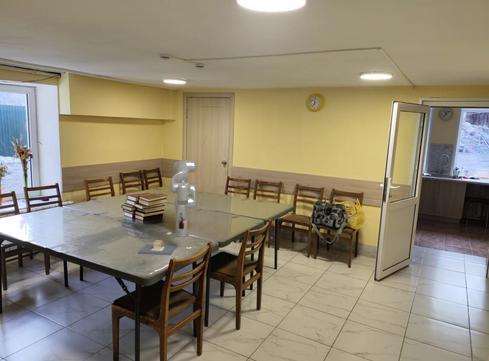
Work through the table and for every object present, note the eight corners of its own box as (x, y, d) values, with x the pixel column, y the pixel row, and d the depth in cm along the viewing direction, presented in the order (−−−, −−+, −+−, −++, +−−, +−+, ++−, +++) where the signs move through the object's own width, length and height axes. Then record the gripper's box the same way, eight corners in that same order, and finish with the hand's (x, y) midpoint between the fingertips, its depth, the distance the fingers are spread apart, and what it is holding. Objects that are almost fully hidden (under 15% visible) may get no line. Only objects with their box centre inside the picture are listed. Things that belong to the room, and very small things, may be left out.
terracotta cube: (179, 226, 238) (179, 220, 237) (186, 227, 238) (186, 220, 237) (178, 228, 233) (178, 221, 232) (185, 229, 233) (185, 222, 232)
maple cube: (155, 247, 239) (155, 240, 238) (162, 247, 239) (162, 240, 238) (153, 249, 234) (153, 242, 233) (160, 249, 234) (160, 242, 233)
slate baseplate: (146, 246, 244) (146, 244, 244) (176, 247, 244) (176, 245, 244) (138, 253, 230) (138, 251, 229) (170, 255, 229) (170, 252, 229)
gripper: (179, 199, 241) (179, 224, 244) (174, 204, 224) (174, 230, 227) (190, 200, 241) (189, 224, 244) (185, 205, 224) (185, 231, 227)
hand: (182, 227), depth 235 cm, fingers closed on terracotta cube, 4 cm apart
